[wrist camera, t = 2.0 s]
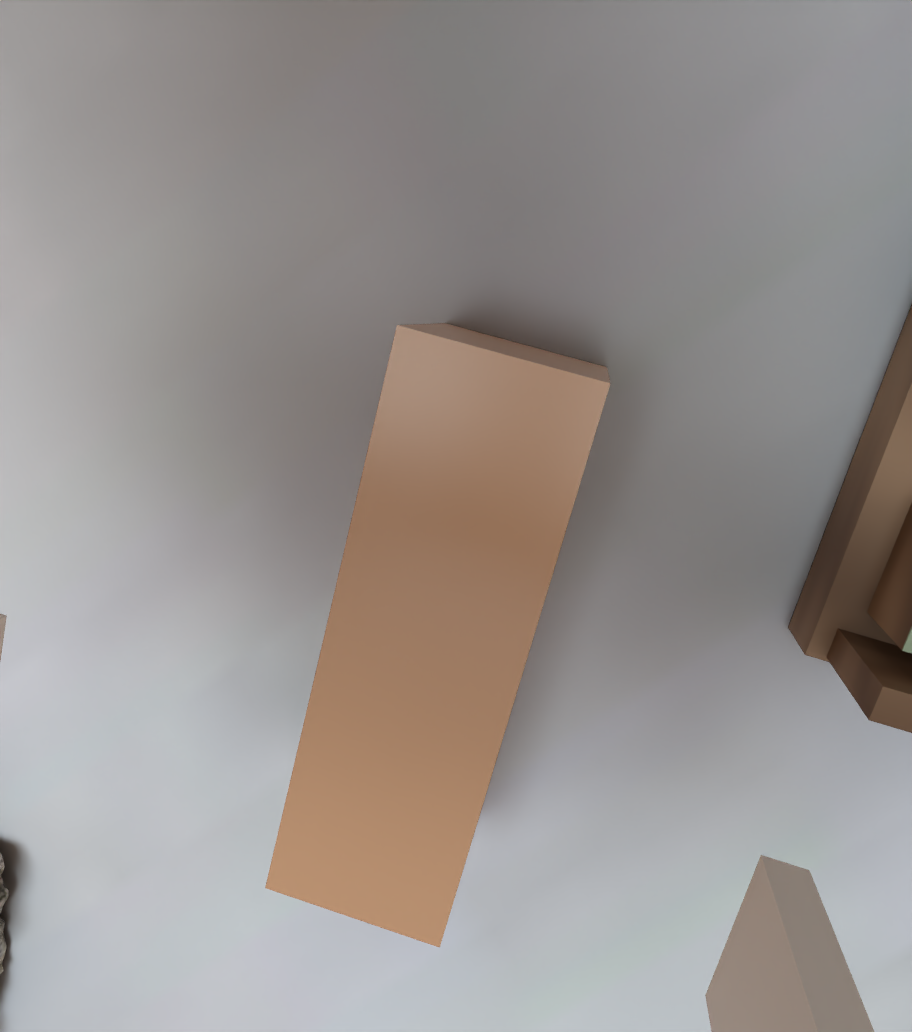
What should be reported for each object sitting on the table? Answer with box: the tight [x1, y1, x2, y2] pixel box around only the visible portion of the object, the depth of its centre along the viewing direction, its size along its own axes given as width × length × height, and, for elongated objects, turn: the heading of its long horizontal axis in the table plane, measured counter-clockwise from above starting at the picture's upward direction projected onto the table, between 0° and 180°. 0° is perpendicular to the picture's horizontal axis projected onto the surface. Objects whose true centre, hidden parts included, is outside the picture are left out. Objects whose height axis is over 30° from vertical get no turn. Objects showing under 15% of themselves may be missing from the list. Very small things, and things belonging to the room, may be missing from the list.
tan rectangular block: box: [265, 323, 611, 947], centre depth 22 cm, size 14×4×6 cm, turn 166°
